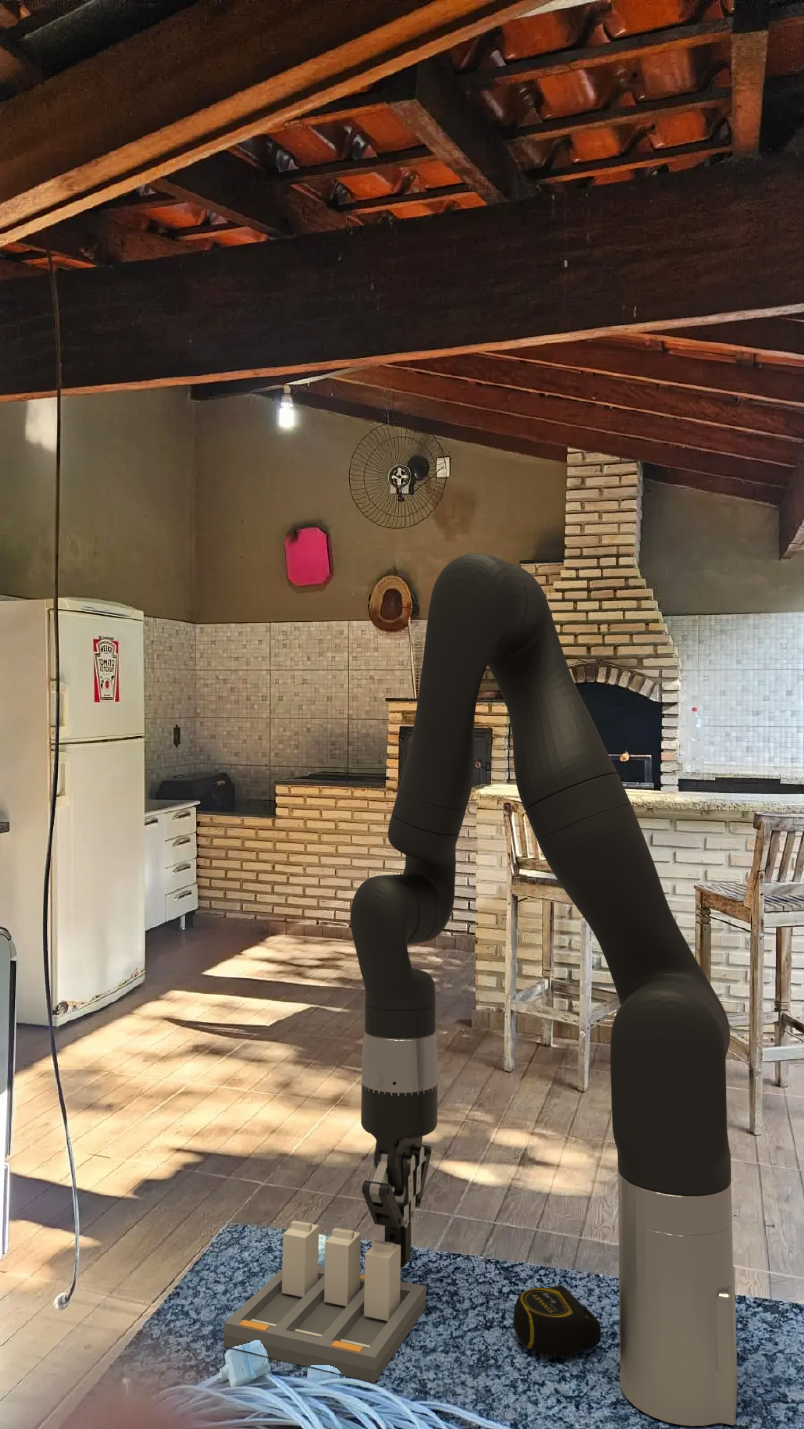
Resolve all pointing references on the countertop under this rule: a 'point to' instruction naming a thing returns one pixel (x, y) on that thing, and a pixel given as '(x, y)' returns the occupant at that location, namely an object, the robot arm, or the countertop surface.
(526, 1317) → the tape measure
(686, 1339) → the robot arm
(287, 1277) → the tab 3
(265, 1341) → the switch board
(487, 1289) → the countertop surface
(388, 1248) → the beige tall block
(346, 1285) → the beige upright block
